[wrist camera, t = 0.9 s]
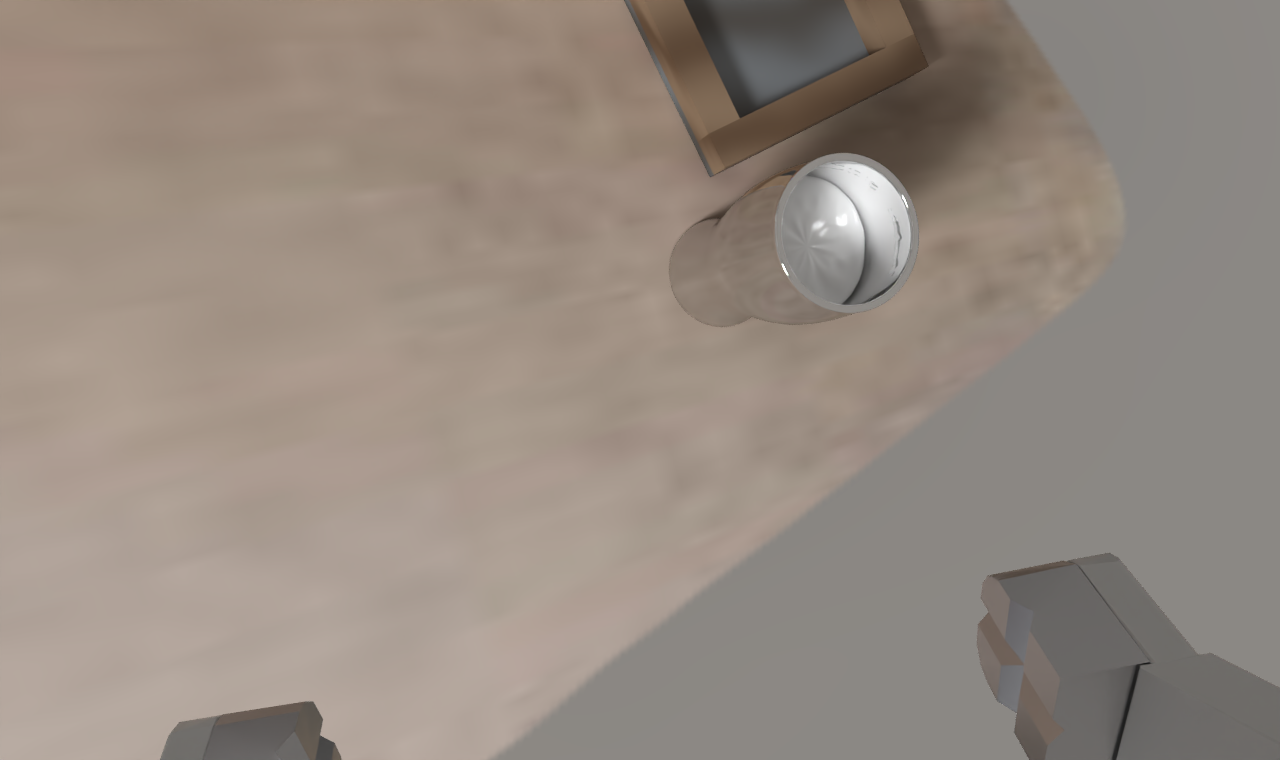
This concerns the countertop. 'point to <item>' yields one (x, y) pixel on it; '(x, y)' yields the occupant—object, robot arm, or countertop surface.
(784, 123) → the cradle jig
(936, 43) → the countertop surface
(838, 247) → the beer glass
